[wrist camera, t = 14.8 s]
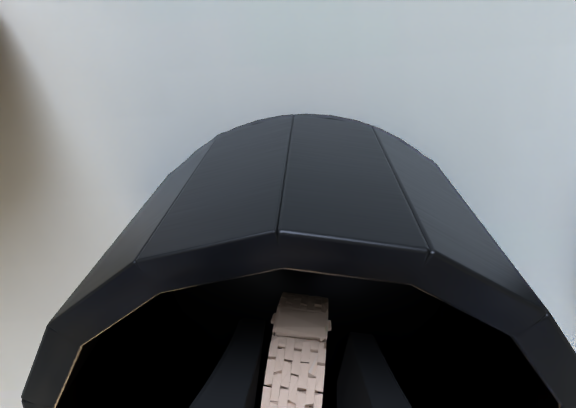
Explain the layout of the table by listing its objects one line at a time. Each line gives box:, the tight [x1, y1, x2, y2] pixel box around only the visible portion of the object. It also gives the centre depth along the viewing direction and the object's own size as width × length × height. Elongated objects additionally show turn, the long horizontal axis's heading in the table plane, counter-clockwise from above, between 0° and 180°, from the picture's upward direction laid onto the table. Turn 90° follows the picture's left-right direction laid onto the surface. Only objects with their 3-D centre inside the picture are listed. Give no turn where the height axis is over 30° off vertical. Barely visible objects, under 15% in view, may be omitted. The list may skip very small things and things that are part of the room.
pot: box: [21, 114, 576, 408], centre depth 11 cm, size 11×11×7 cm
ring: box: [261, 292, 332, 408], centre depth 10 cm, size 3×5×5 cm, turn 177°
